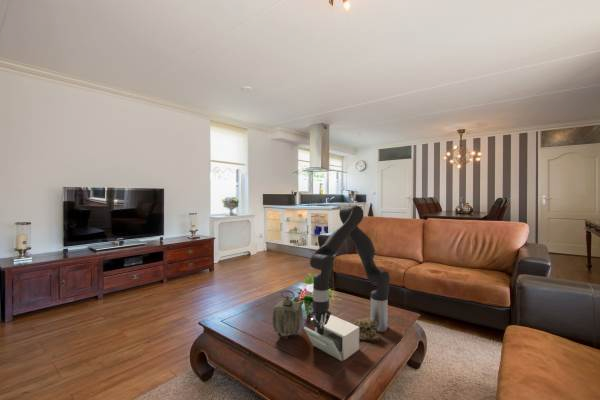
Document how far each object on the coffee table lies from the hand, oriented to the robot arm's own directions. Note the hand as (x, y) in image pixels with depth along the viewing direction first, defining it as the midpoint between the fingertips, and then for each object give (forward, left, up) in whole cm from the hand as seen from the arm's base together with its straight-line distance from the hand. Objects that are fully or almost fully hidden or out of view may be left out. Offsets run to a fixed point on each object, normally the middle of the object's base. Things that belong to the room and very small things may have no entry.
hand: (320, 334), depth 126 cm
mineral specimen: (-30, +4, -12) cm, 32 cm away
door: (-5, 0, -10) cm, 11 cm away
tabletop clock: (-1, -24, -12) cm, 27 cm away
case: (-12, 0, -11) cm, 16 cm away
